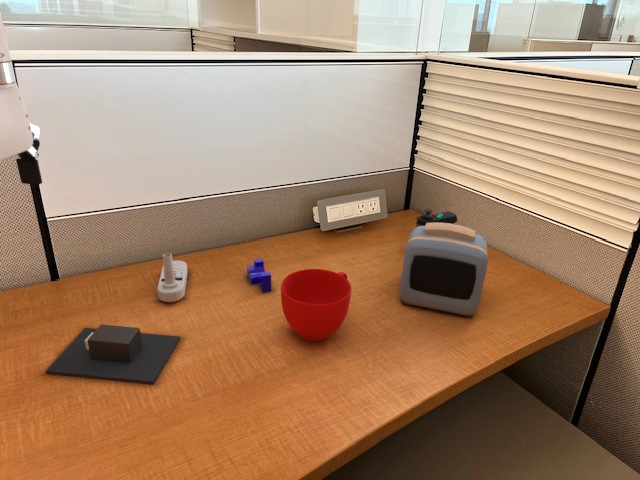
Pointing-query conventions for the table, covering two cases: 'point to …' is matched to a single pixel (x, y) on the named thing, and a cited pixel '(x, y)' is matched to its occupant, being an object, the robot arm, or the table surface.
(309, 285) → the ceramic cup
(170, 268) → the electronic device
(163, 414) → the table surface
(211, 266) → the table surface
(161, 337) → the desk mat
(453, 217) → the controller
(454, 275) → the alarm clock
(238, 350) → the table surface
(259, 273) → the cable holder
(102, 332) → the block
